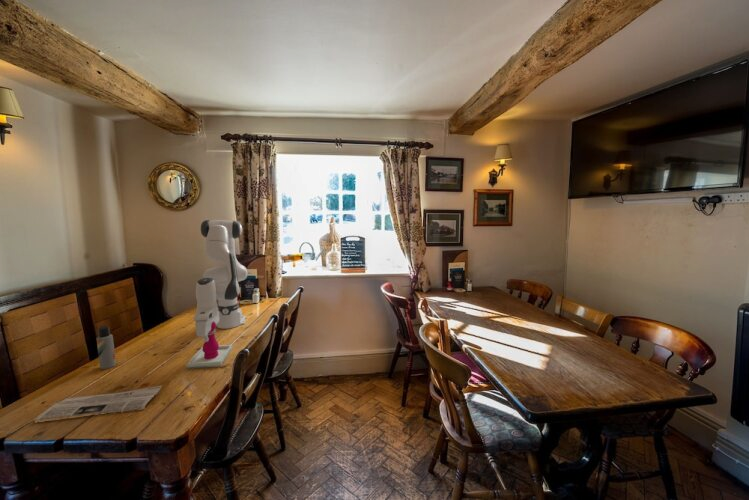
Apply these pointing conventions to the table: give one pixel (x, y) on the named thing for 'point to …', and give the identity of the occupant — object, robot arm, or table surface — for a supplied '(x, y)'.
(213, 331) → the pepper mill
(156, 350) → the table surface
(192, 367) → the tray
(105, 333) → the lotion bottle
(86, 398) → the newspaper
